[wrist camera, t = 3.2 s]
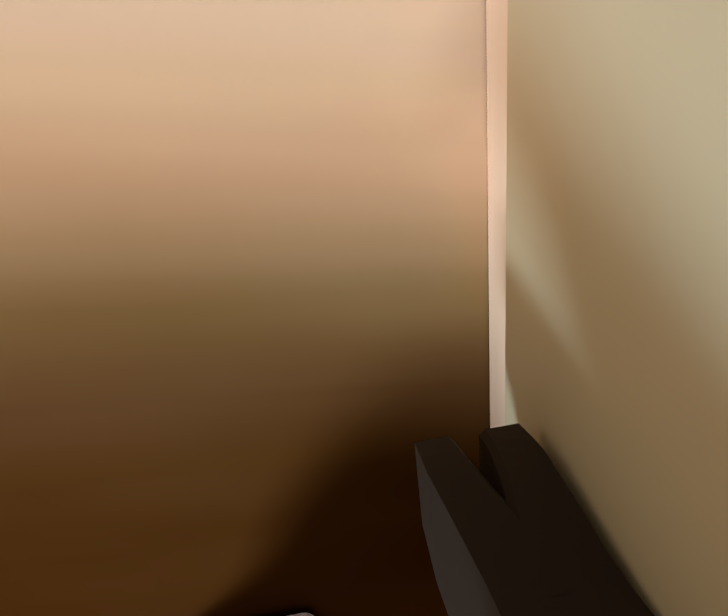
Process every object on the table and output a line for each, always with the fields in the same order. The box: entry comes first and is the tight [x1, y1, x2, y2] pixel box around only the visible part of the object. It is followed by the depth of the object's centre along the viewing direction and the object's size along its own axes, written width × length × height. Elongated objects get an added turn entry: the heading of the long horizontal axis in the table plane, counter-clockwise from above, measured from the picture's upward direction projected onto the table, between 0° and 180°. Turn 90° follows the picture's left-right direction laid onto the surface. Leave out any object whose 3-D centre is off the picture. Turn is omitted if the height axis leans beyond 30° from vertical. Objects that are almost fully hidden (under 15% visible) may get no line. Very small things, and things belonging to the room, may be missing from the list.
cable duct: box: [486, 0, 508, 428], centre depth 13 cm, size 20×7×3 cm, turn 6°
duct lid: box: [505, 0, 728, 616], centre depth 8 cm, size 20×7×1 cm
